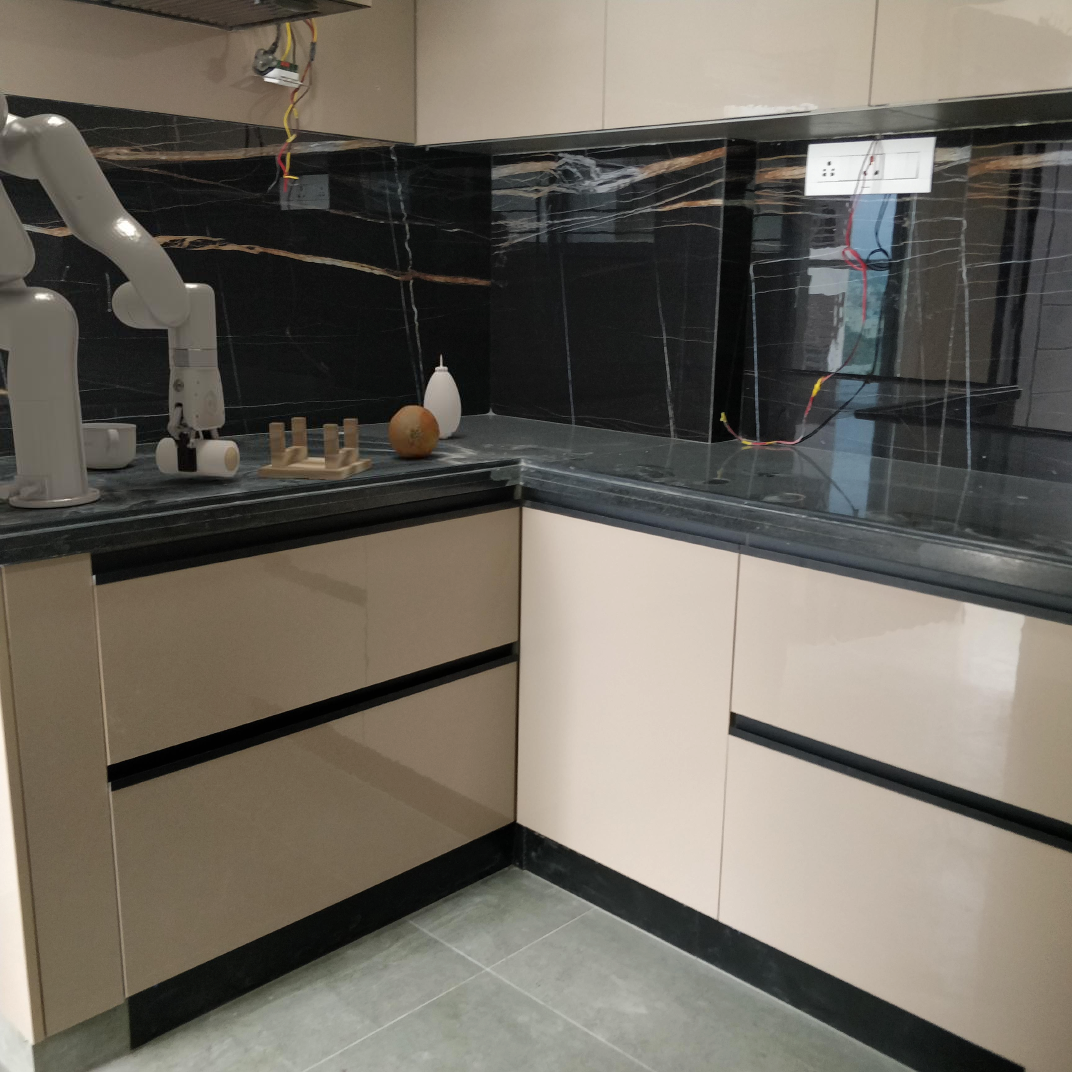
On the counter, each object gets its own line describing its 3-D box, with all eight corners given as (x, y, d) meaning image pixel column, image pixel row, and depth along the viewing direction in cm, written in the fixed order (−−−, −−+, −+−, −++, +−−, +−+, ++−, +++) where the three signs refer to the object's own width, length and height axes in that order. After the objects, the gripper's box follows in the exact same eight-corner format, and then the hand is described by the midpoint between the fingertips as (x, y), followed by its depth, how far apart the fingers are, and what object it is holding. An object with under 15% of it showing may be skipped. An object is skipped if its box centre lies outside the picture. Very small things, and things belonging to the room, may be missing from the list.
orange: (396, 463, 198) (394, 409, 196) (383, 456, 207) (381, 404, 205) (446, 460, 201) (445, 407, 199) (431, 453, 210) (430, 402, 208)
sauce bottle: (417, 438, 232) (415, 354, 228) (443, 435, 238) (441, 353, 234) (442, 441, 227) (440, 356, 223) (468, 437, 233) (466, 354, 229)
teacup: (76, 465, 197) (72, 421, 195) (138, 461, 201) (135, 419, 199) (74, 476, 185) (70, 430, 183) (141, 472, 188) (137, 427, 187)
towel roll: (223, 479, 175) (221, 442, 173) (155, 475, 177) (153, 439, 176) (241, 474, 180) (240, 439, 179) (175, 470, 183) (174, 436, 182)
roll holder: (339, 480, 179) (337, 426, 177) (258, 477, 183) (255, 424, 181) (371, 467, 192) (369, 417, 191) (295, 464, 196) (292, 415, 194)
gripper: (185, 362, 166) (190, 477, 170) (240, 359, 182) (244, 463, 186) (142, 361, 168) (148, 474, 171) (201, 358, 184) (205, 461, 188)
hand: (198, 467), depth 179 cm, fingers closed on towel roll, 6 cm apart
